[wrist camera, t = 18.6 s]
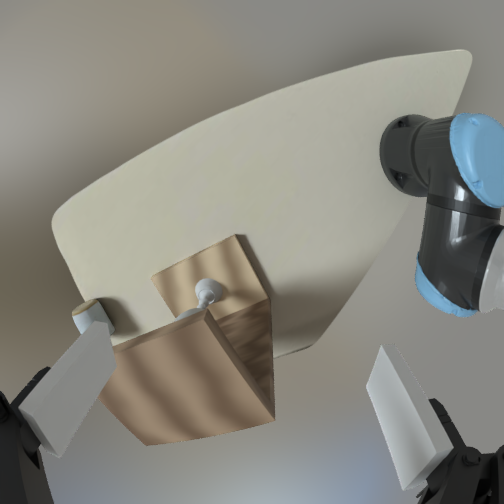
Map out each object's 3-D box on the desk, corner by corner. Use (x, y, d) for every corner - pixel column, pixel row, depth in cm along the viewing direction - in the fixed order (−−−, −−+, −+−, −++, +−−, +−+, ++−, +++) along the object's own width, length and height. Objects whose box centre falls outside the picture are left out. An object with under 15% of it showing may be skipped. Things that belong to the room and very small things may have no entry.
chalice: (213, 314, 54) (194, 377, 36) (183, 295, 53) (151, 351, 36) (235, 286, 52) (222, 344, 35) (203, 265, 51) (176, 315, 34)
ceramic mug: (101, 293, 55) (83, 309, 48) (120, 325, 57) (105, 344, 50) (72, 305, 57) (54, 321, 50) (90, 334, 59) (74, 352, 52)
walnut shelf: (235, 234, 50) (203, 319, 23) (270, 299, 54) (275, 420, 26) (153, 275, 53) (72, 368, 26) (189, 332, 57) (146, 445, 29)
